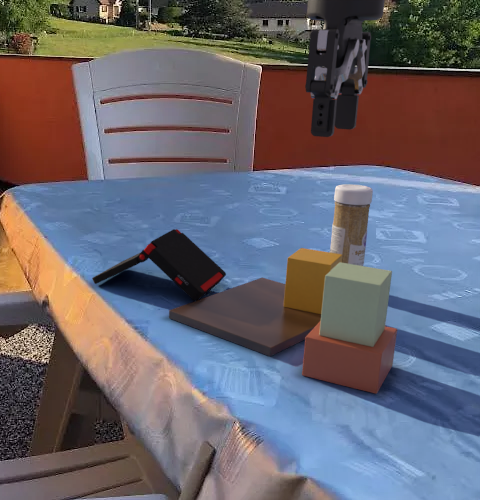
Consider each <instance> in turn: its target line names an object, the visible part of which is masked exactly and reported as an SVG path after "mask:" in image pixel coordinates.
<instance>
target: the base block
mask: <svg viewBox="0 0 480 500" xmlns="http://www.w3.org/2000/svg"><path fill="white" fill-rule="evenodd" d="M320 323H321V321H320V322H319V323H318V324H317V325H316V326H315V327H314V328H313V330H312V331H311V332H310V333H309V334H308V335H307V336H306V338H305V340H304V348H303V349H304V350H303V359H302V371H301V375H302V376H303V377H307V378H311V379H315V380H319V381H324V382H327V383H331V384H335V385H339V386H343V387H347V388H351V389H355V390H359V391H362V392H363V391H364V392H367V393H371V394H375V395H376V394H378V393H379V391H380V389H381V387H382V385H383V383H384V382H385V380H386V378H387V377H388V374H389V373H390V371H391V369H392V367H393V365H394V358H395V351H396V349H395V348H396V343H397V334H398V328H395V327H392V326H391V327H390V326H387V325H385V330H384V331H383V333H382V334H381V336H380V337H379V339H378V340H377V342H376V343H375V345H374V346H373V347H370V346H365V345H361V344H356V343H352V342H347V341H343V340H338V339H334V338H329V337H324V336H320V335H319V333H320Z"/></svg>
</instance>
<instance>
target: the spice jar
mask: <svg viewBox="0 0 480 500" xmlns="http://www.w3.org/2000/svg"><path fill="white" fill-rule="evenodd" d="M373 193H374V190H373V188H372V187H370V186H367V185H361V184H338V185H336V186H335V189H334V196H333V200H334V211H333V221H332V225H331V226H332V227H331V239H330V247H329V252H330V253H336V254H342V263H347V264H353V265H359V266H364V265H365V258H366V257H365V256H366V249H367V248H366V247H367V239H368V238H367V237H368V223H369V216H370V215H369V214H370V207H371V204H372V202H373Z"/></svg>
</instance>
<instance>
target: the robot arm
mask: <svg viewBox="0 0 480 500" xmlns="http://www.w3.org/2000/svg"><path fill="white" fill-rule="evenodd" d="M306 9H307V10H306V16H307V18H308V19H309V20H311V21H323V22H324V23H323V26H322V28H313V29H311V31H310V34H309V46H308V47H309V48H308V56H307V57H308V58H307V59H308V60H307V67H306V79H305V80H306V81H305V85H304V89H305V92H306V93H309V94H310V97H311V99H313V100H312V111H311V114H312V115H311V124H310V134H311V135H312V136H313V137H319V138H320V137H321V138H329V137H332V136H333V135H334V134H335V128H336V129H337V130H349V131H350V130H353V129H355V128H356V127H357V118H358V109H359V100H360V99H359V98H360V95H361V94H362V92H363V90H364V89H365V88H366V87H367V85H368V72H369V61H370V49H371V40H372V35H371V34H372V33H371V32H370V31H363V22H365V21H378V20H380V19H382V17H383V16H384V10H385V0H307V8H306Z"/></svg>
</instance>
